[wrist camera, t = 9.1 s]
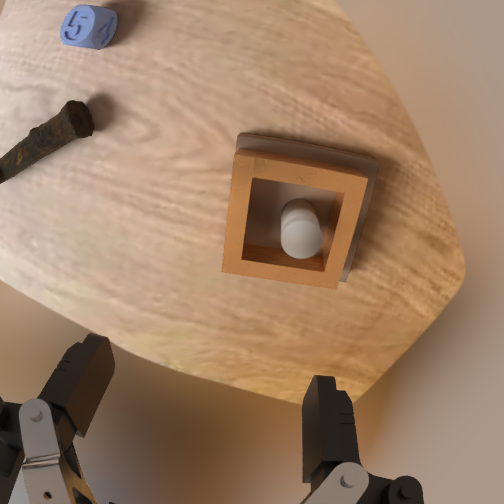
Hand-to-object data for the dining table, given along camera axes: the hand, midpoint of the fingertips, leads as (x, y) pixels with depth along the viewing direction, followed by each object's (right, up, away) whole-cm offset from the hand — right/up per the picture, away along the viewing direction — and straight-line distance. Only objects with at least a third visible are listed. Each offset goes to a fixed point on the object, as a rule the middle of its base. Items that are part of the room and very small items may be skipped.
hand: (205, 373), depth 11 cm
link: (+5, +8, +16) cm, 18 cm away
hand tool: (-23, +16, +17) cm, 32 cm away
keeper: (+6, +9, +17) cm, 20 cm away
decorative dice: (-13, +26, +10) cm, 31 cm away
